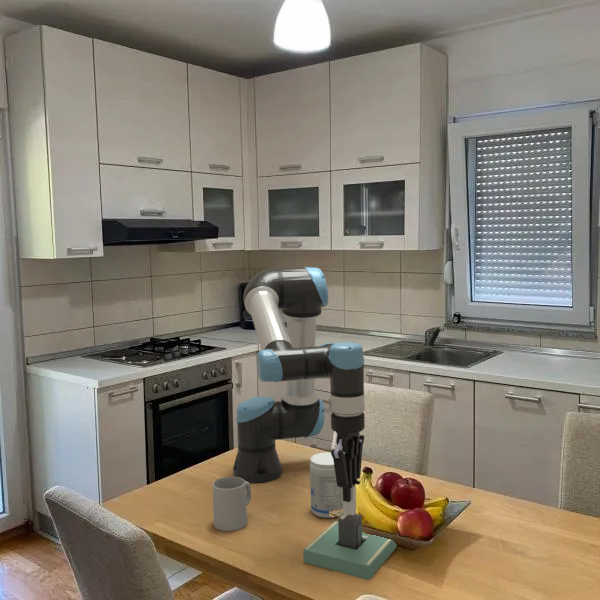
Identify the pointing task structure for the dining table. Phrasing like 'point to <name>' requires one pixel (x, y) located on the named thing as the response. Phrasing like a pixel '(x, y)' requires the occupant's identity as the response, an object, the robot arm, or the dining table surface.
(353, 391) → the robot arm
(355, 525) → the plug
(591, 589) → the dining table surface
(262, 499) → the dining table surface
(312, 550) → the green square socket board
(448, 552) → the dining table surface
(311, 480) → the supplement tub
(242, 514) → the mug
